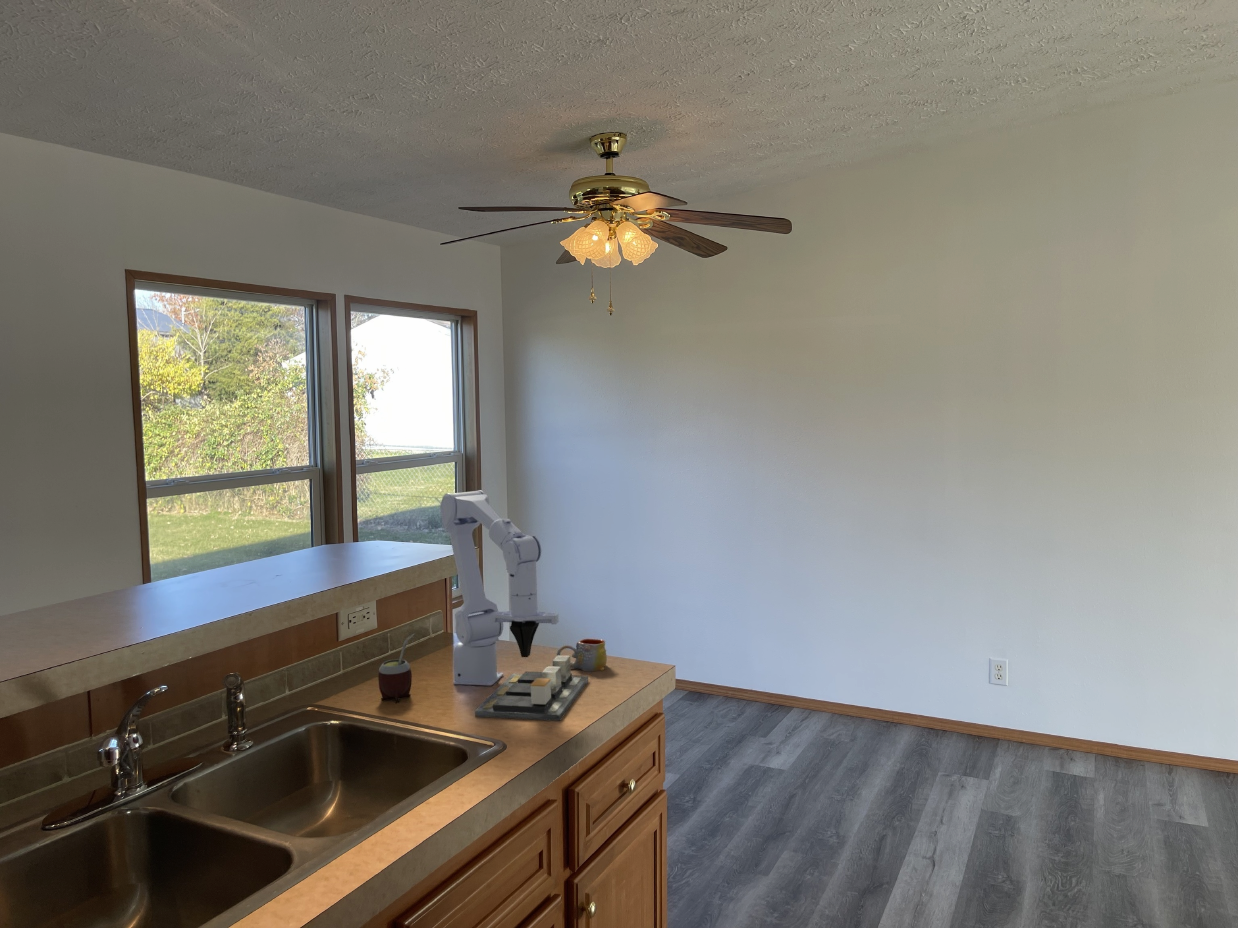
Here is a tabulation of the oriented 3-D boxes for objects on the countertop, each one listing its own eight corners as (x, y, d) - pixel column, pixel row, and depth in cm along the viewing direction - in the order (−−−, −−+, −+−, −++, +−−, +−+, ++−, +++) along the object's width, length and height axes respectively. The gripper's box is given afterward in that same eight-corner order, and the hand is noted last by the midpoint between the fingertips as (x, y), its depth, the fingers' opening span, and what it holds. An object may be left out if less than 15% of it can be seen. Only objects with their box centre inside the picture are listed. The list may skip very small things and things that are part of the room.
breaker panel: (474, 716, 170) (473, 685, 169) (513, 678, 193) (512, 651, 193) (559, 720, 166) (558, 689, 166) (588, 681, 190) (587, 653, 189)
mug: (606, 663, 203) (605, 636, 203) (607, 671, 197) (606, 643, 196) (557, 664, 203) (556, 638, 203) (556, 673, 196) (555, 645, 196)
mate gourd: (378, 695, 184) (375, 629, 183) (414, 690, 187) (411, 625, 186) (380, 706, 177) (377, 637, 176) (418, 701, 180) (415, 633, 179)
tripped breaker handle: (531, 703, 169) (530, 684, 169) (537, 696, 173) (536, 678, 173) (545, 704, 169) (544, 685, 168) (551, 697, 172) (550, 678, 172)
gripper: (484, 596, 174) (486, 660, 175) (551, 598, 171) (553, 662, 172) (496, 589, 181) (498, 650, 182) (560, 590, 178) (562, 652, 179)
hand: (525, 655), depth 177 cm, fingers closed
